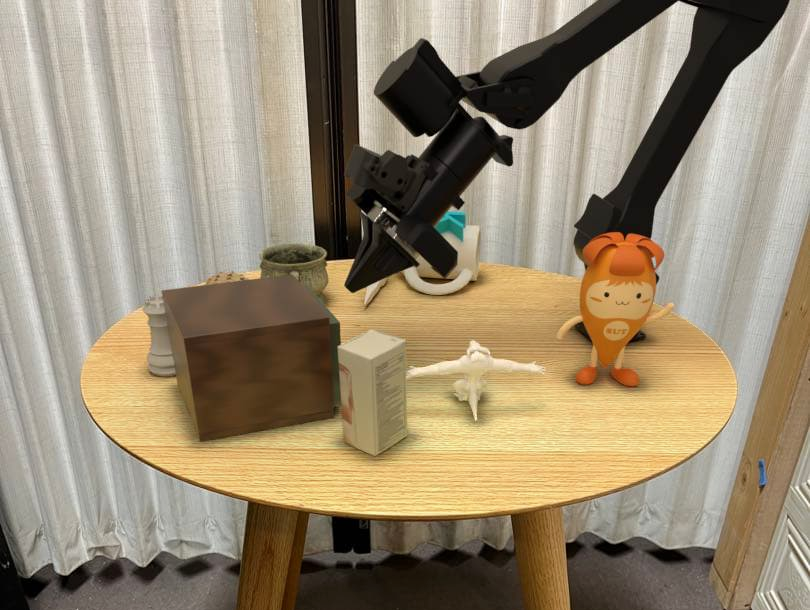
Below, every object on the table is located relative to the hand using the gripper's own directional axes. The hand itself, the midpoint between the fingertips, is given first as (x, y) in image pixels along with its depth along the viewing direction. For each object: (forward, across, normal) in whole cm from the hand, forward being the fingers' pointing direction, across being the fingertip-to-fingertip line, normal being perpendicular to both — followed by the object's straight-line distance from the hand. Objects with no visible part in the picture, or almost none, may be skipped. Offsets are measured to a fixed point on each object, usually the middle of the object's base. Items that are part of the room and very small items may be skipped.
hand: (348, 289), depth 88 cm
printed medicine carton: (+9, +17, +4) cm, 19 cm away
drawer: (+13, +5, -2) cm, 14 cm away
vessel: (+7, -21, +6) cm, 23 cm away
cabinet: (+15, +5, -3) cm, 16 cm away
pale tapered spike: (-1, -21, +14) cm, 25 cm away
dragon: (0, +14, +12) cm, 19 cm away
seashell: (+14, -18, -1) cm, 23 cm away
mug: (-7, -22, +20) cm, 30 cm away
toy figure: (-12, +13, +24) cm, 30 cm away
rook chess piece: (+20, -6, -8) cm, 22 cm away
